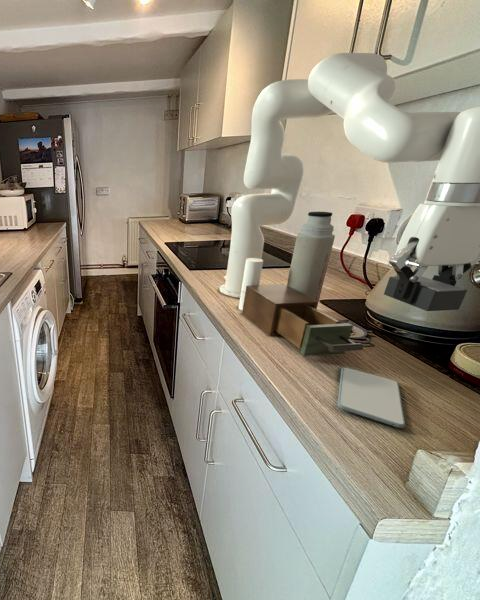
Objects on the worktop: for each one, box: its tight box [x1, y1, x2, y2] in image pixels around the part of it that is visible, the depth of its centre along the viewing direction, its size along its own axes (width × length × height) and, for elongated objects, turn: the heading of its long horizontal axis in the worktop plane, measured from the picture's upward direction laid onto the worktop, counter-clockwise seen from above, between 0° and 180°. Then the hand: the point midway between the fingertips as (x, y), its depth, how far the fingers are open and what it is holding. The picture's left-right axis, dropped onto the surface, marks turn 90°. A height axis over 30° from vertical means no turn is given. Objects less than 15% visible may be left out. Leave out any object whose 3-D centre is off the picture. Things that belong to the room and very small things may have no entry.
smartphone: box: [336, 367, 406, 429], centre depth 56 cm, size 8×1×15 cm
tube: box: [238, 258, 264, 312], centre depth 91 cm, size 4×4×15 cm
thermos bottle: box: [286, 211, 336, 310], centre depth 85 cm, size 8×8×28 cm
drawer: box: [274, 305, 364, 357], centre depth 70 cm, size 17×9×7 cm, turn 2°
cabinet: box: [241, 283, 319, 337], centre depth 83 cm, size 14×10×9 cm
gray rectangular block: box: [383, 275, 468, 312], centre depth 56 cm, size 6×8×4 cm
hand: (419, 298), depth 57 cm, fingers closed on gray rectangular block, 5 cm apart
